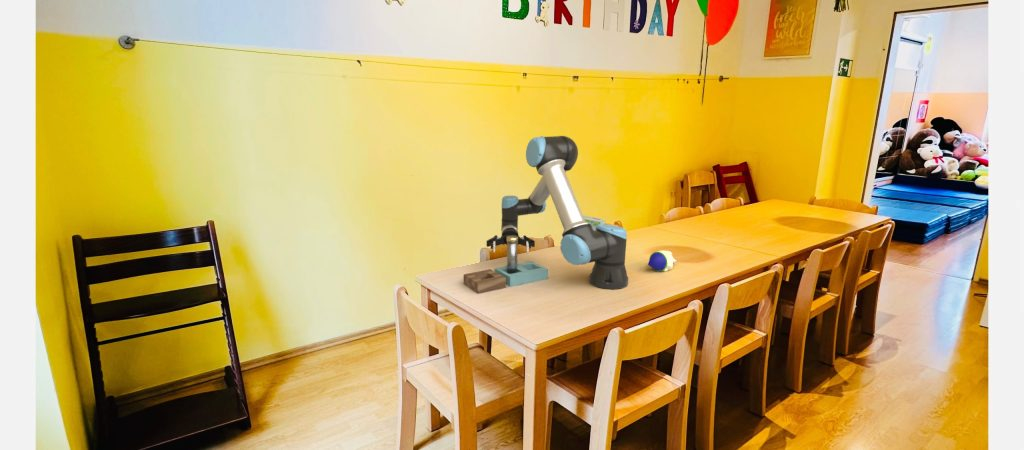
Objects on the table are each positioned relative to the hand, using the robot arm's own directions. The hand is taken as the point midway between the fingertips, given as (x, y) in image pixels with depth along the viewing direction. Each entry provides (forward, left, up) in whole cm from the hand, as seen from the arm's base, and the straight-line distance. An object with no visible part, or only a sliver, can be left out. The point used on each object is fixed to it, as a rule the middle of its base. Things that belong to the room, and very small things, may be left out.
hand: (511, 249), depth 201 cm
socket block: (-4, +14, -12) cm, 19 cm away
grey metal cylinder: (-4, +2, -12) cm, 12 cm away
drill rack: (-4, -3, -12) cm, 13 cm away
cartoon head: (-26, -60, -12) cm, 66 cm away
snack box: (+19, -55, -12) cm, 59 cm away
